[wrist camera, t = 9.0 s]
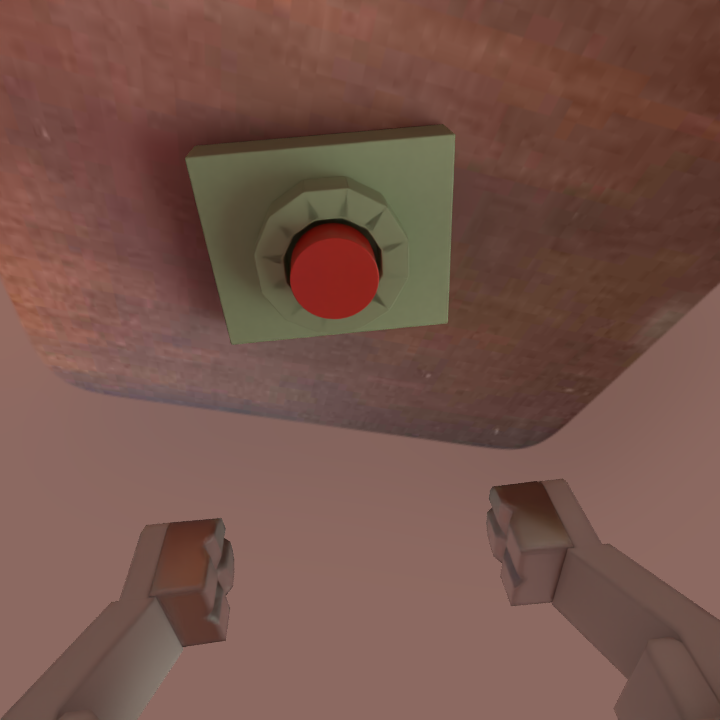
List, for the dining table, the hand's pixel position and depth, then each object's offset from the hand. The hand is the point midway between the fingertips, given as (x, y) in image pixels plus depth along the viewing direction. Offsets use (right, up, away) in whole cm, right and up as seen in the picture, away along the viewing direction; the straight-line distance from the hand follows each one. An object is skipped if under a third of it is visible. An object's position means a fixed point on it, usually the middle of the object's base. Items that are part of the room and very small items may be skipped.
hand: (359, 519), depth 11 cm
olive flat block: (-1, +10, +14) cm, 17 cm away
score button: (-1, +8, +11) cm, 13 cm away
